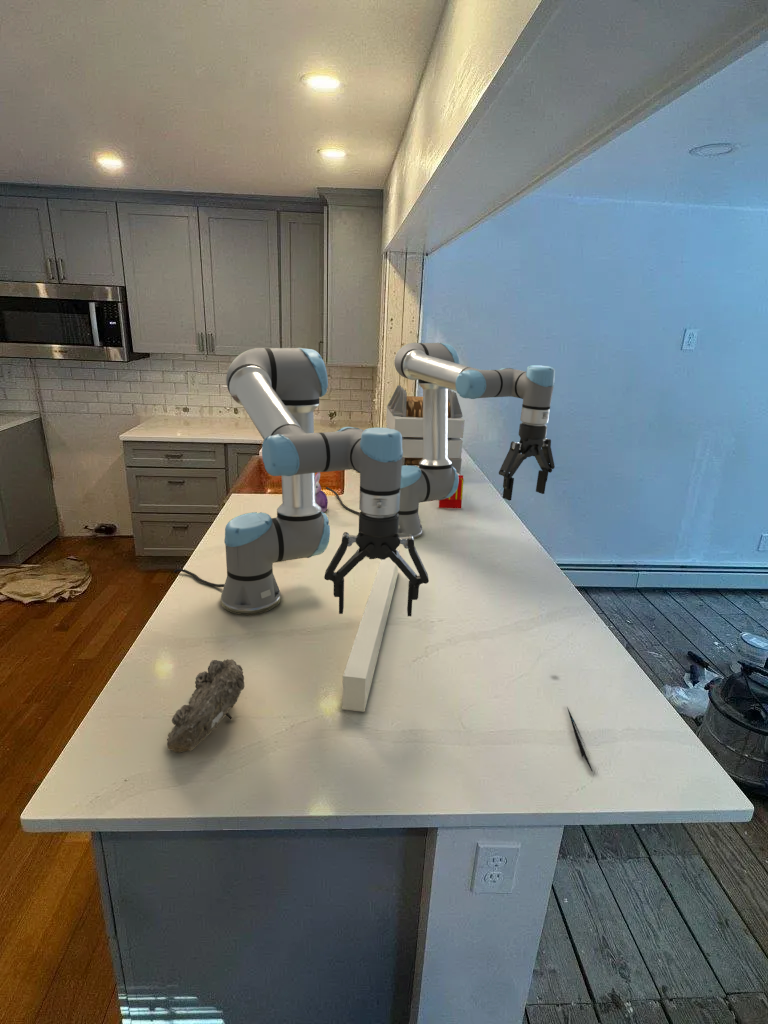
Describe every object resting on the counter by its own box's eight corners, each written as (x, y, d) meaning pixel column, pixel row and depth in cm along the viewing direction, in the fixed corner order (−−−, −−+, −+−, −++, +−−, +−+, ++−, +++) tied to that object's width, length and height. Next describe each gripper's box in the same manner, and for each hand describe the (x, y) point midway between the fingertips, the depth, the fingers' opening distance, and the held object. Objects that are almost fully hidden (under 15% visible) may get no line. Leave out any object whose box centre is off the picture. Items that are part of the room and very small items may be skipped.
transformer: (382, 463, 289) (386, 382, 275) (445, 464, 293) (451, 384, 279) (390, 482, 257) (394, 392, 243) (460, 483, 261) (468, 394, 247)
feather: (555, 681, 125) (561, 675, 124) (592, 776, 98) (600, 769, 98) (549, 677, 125) (554, 671, 124) (584, 771, 98) (592, 764, 98)
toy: (456, 466, 252) (467, 476, 223) (454, 496, 255) (465, 509, 225) (428, 465, 252) (437, 475, 222) (427, 495, 254) (435, 508, 225)
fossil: (192, 660, 117) (244, 628, 112) (224, 691, 120) (276, 661, 115) (142, 746, 98) (202, 712, 93) (182, 779, 101) (242, 748, 96)
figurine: (309, 516, 212) (309, 477, 207) (300, 507, 221) (300, 470, 216) (333, 513, 216) (333, 475, 211) (323, 504, 225) (323, 468, 220)
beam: (383, 572, 170) (384, 548, 168) (398, 573, 170) (399, 549, 167) (342, 709, 112) (342, 675, 109) (364, 712, 111) (365, 678, 109)
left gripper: (310, 516, 103) (310, 619, 110) (447, 521, 103) (439, 623, 110) (315, 502, 110) (315, 600, 117) (443, 507, 110) (435, 604, 117)
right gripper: (511, 429, 148) (501, 505, 155) (574, 422, 161) (562, 493, 168) (491, 423, 154) (482, 497, 161) (553, 417, 167) (543, 486, 174)
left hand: (375, 612), depth 113 cm, fingers open, 13 cm apart
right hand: (523, 495), depth 165 cm, fingers open, 13 cm apart
